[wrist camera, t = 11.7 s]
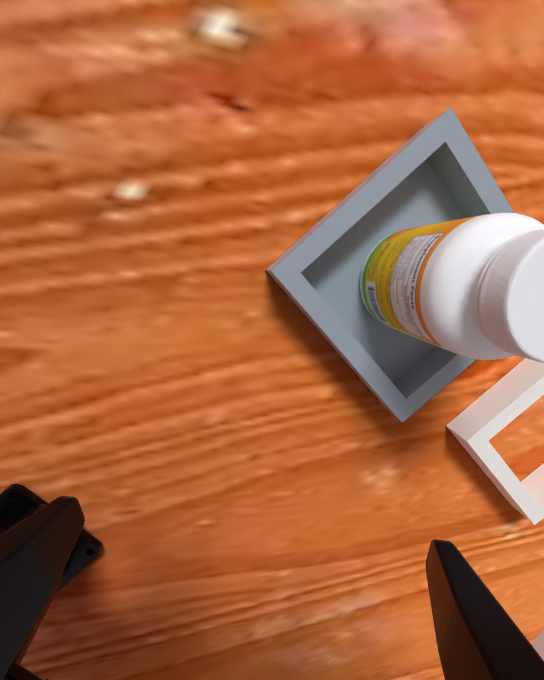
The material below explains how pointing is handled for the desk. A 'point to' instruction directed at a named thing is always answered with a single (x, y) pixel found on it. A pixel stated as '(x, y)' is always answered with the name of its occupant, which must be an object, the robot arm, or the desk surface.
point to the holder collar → (491, 417)
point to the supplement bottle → (463, 285)
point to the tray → (360, 238)
